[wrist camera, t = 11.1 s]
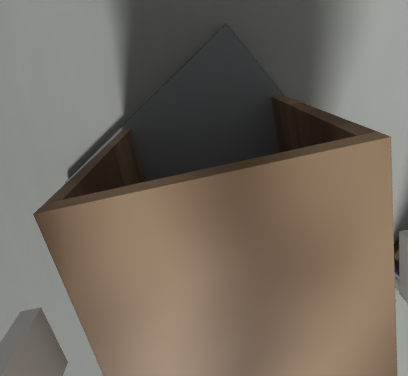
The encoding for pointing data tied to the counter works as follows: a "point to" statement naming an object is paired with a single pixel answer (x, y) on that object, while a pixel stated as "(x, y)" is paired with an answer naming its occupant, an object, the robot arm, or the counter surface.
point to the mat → (206, 113)
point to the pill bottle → (396, 265)
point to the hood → (236, 256)
